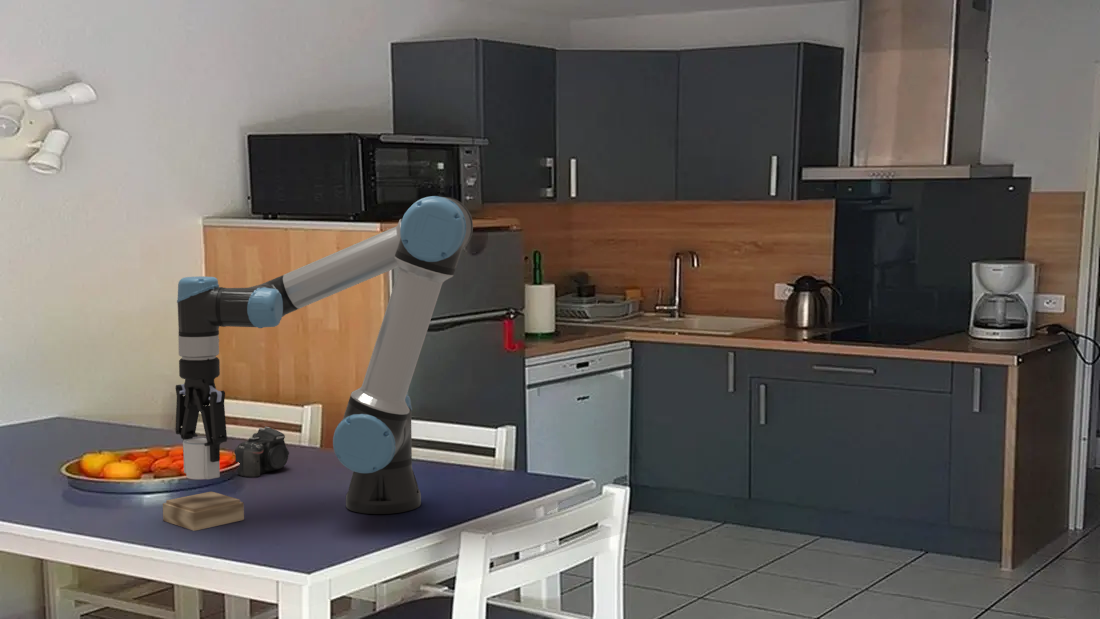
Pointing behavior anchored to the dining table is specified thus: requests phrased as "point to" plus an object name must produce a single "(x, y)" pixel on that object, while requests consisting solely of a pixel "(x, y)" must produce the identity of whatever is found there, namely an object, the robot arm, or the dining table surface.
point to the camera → (261, 453)
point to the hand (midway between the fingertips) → (201, 474)
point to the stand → (203, 510)
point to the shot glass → (194, 457)
